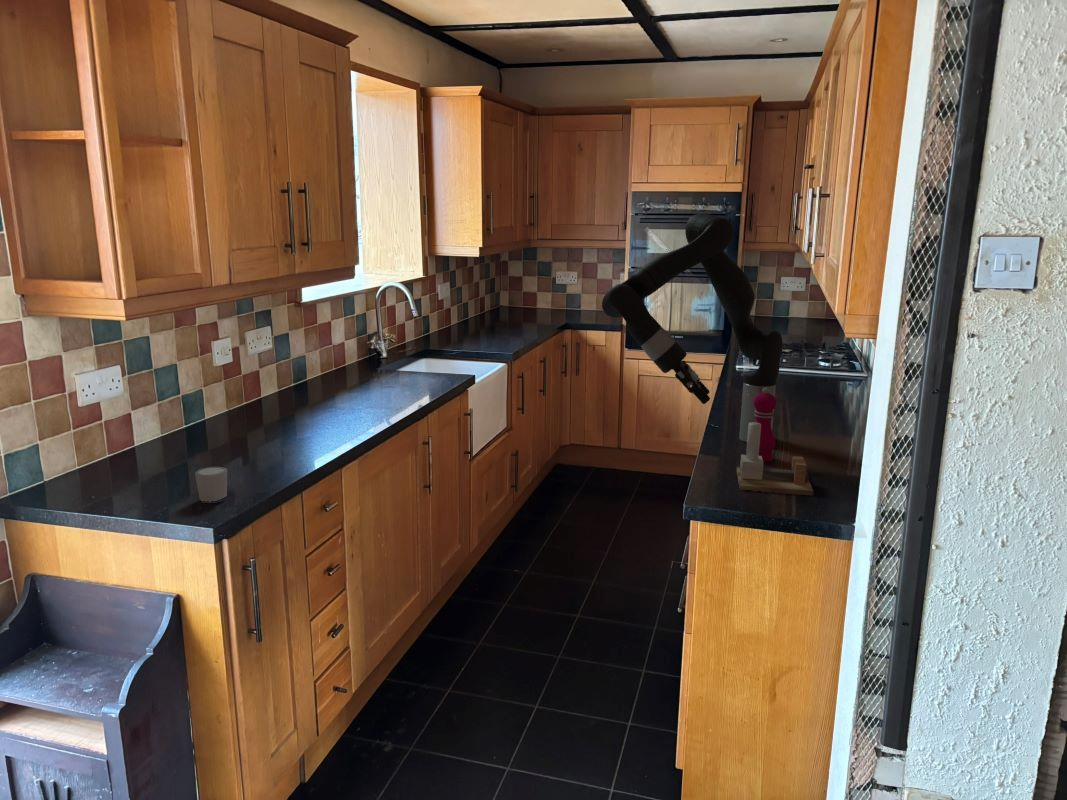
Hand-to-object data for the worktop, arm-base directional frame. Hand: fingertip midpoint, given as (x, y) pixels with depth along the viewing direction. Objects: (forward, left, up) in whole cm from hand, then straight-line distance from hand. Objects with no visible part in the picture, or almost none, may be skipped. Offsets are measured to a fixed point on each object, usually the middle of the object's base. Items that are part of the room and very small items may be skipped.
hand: (707, 398), depth 195 cm
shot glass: (+43, -110, -21) cm, 120 cm away
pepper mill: (-19, +16, -21) cm, 32 cm away
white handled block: (+1, +12, -19) cm, 22 cm away
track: (+1, +17, -21) cm, 27 cm away
